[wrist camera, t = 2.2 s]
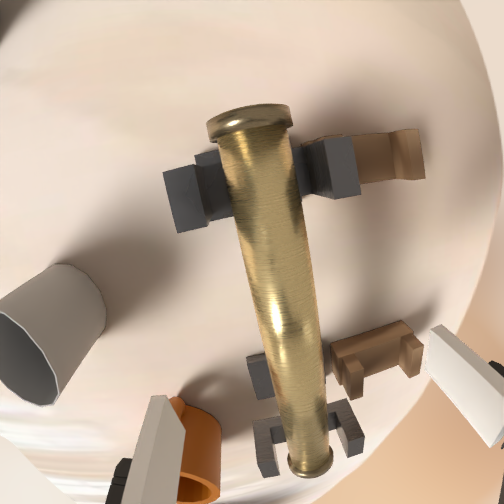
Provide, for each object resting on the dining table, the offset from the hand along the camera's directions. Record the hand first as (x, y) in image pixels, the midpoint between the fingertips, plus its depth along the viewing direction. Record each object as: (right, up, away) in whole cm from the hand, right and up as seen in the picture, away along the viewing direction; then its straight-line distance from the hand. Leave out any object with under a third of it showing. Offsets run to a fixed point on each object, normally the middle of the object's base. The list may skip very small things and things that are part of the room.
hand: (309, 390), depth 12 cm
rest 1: (+5, +14, +9) cm, 18 cm away
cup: (-20, +1, +11) cm, 23 cm away
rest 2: (+9, -3, +14) cm, 17 cm away
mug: (-10, -12, +16) cm, 22 cm away
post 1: (-3, +12, +9) cm, 15 cm away
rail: (0, +1, +4) cm, 4 cm away
